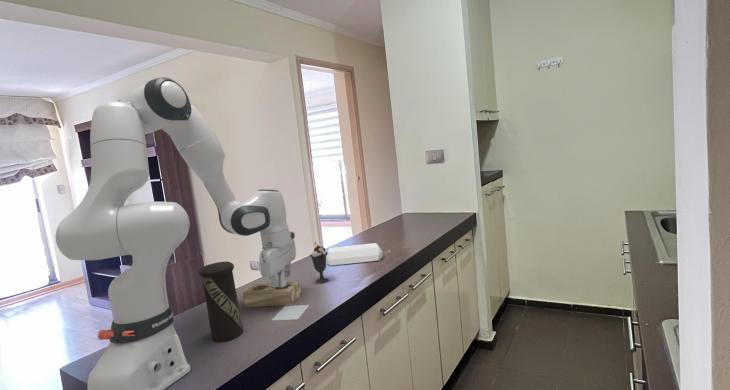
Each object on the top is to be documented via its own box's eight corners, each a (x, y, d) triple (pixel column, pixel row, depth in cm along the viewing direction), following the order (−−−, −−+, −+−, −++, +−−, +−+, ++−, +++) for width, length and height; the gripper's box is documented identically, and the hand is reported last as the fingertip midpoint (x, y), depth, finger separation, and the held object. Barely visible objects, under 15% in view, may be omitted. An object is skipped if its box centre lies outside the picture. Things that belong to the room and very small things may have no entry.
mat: (297, 320, 109) (297, 319, 109) (271, 321, 110) (271, 320, 110) (309, 306, 119) (309, 304, 119) (285, 307, 120) (284, 306, 120)
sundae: (316, 285, 137) (310, 244, 136) (311, 281, 143) (305, 241, 142) (333, 281, 140) (328, 240, 138) (327, 276, 146) (322, 237, 144)
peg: (287, 303, 124) (282, 272, 123) (278, 303, 124) (273, 273, 123) (290, 299, 127) (285, 269, 126) (282, 299, 127) (277, 270, 126)
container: (214, 347, 98) (201, 271, 96) (207, 336, 106) (195, 265, 104) (248, 336, 103) (236, 262, 101) (239, 325, 111) (228, 257, 108)
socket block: (292, 305, 121) (290, 290, 120) (245, 308, 124) (242, 292, 123) (301, 296, 129) (299, 281, 128) (256, 298, 132) (254, 284, 131)
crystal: (323, 259, 157) (382, 253, 156) (324, 247, 163) (381, 241, 161) (326, 272, 162) (384, 266, 160) (327, 259, 168) (383, 253, 166)
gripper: (271, 246, 113) (278, 292, 114) (296, 231, 133) (302, 270, 134) (251, 248, 114) (258, 293, 115) (279, 233, 134) (285, 272, 135)
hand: (282, 281), depth 125 cm, fingers open, 8 cm apart
